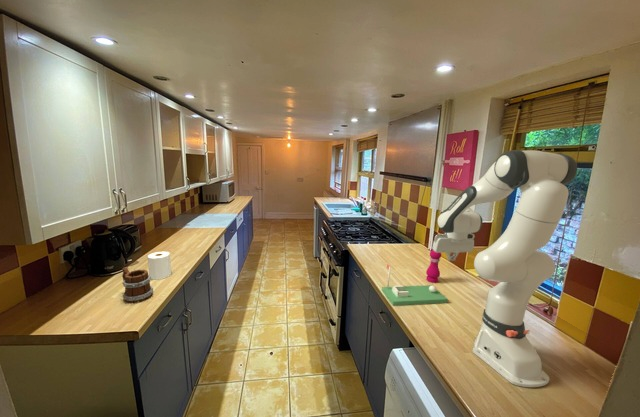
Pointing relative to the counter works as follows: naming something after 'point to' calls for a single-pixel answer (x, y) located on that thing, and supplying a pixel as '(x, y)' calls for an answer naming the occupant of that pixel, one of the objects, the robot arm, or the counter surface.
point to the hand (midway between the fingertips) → (451, 260)
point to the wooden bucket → (136, 285)
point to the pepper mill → (433, 267)
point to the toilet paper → (159, 265)
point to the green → (412, 294)
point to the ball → (432, 288)
